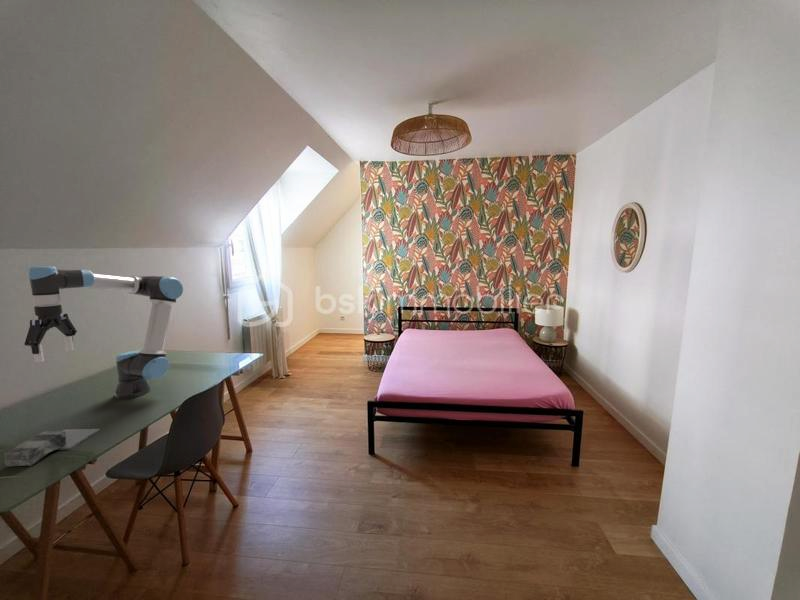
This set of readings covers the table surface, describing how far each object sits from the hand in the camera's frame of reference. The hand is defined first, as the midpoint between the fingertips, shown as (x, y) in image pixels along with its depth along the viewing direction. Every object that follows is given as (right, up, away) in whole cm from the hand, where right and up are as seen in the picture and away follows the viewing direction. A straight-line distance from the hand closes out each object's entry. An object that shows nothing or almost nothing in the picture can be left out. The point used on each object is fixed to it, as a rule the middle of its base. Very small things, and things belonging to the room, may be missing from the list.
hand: (55, 356), depth 135 cm
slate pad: (+7, -34, -2) cm, 34 cm away
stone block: (+7, -33, -5) cm, 34 cm away
